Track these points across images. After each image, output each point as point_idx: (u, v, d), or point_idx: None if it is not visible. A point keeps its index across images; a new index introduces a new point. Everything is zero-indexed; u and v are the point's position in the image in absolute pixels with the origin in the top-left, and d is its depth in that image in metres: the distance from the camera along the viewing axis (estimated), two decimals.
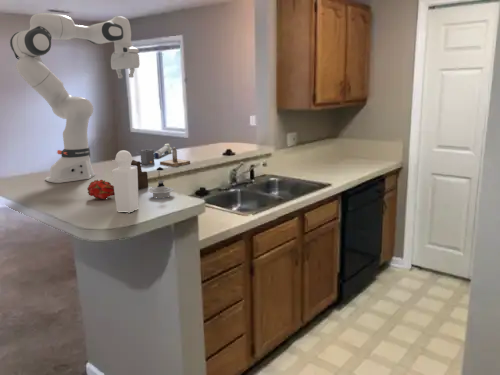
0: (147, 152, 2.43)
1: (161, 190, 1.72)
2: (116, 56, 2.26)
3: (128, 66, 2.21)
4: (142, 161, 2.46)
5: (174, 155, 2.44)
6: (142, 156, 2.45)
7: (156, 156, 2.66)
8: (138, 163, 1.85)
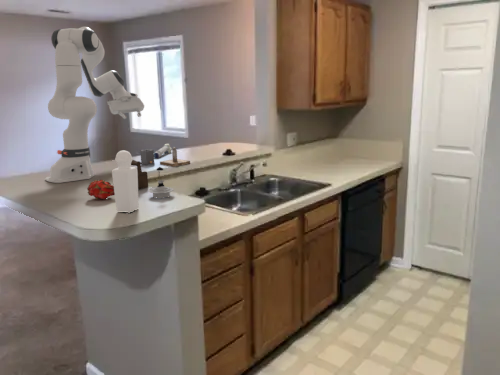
0: (147, 152, 2.43)
1: (161, 190, 1.72)
2: (118, 101, 2.48)
3: (137, 106, 2.52)
4: (142, 161, 2.46)
5: (174, 155, 2.44)
6: (142, 156, 2.45)
7: (156, 156, 2.66)
8: (138, 163, 1.85)
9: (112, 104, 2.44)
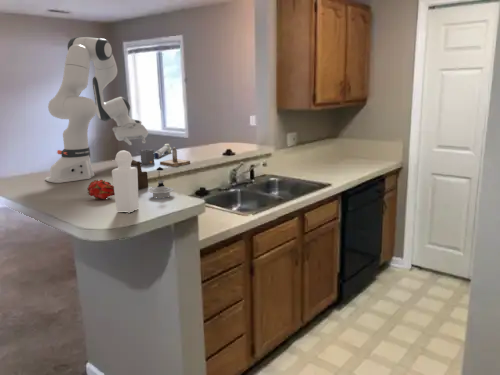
0: (147, 152, 2.43)
1: (161, 190, 1.72)
2: (123, 127, 2.49)
3: (142, 133, 2.54)
4: (142, 161, 2.46)
5: (174, 155, 2.44)
6: (142, 156, 2.45)
7: (156, 156, 2.66)
8: (138, 163, 1.85)
9: (118, 130, 2.45)
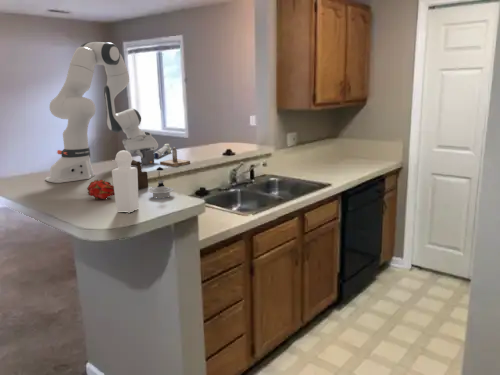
0: (147, 152, 2.43)
1: (161, 190, 1.72)
2: (133, 140, 2.45)
3: (152, 145, 2.50)
4: (142, 161, 2.46)
5: (174, 155, 2.44)
6: None
7: (156, 156, 2.66)
8: (138, 163, 1.85)
9: (128, 143, 2.41)
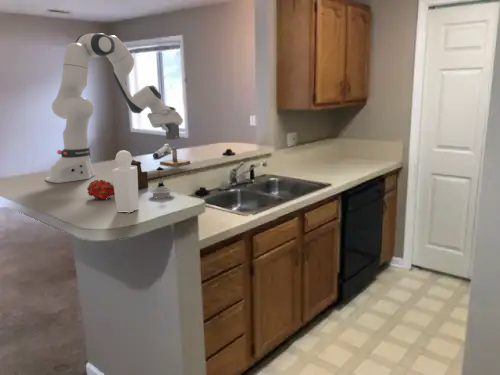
0: (172, 126, 2.39)
1: (161, 190, 1.72)
2: (159, 114, 2.41)
3: (177, 120, 2.47)
4: (167, 136, 2.42)
5: (174, 155, 2.44)
6: None
7: (156, 156, 2.65)
8: (138, 163, 1.85)
9: (153, 117, 2.37)
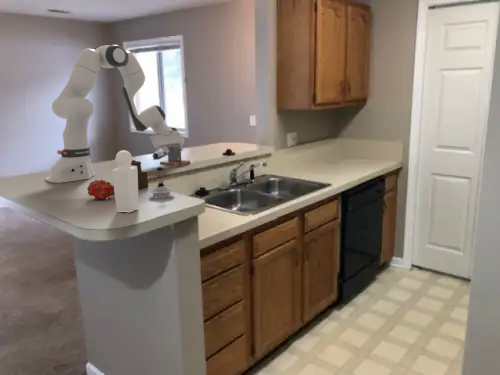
0: (175, 149, 2.42)
1: (161, 190, 1.72)
2: (161, 135, 2.44)
3: (179, 141, 2.49)
4: (169, 158, 2.45)
5: None
6: (169, 153, 2.44)
7: (155, 156, 2.65)
8: (138, 163, 1.85)
9: (156, 139, 2.40)
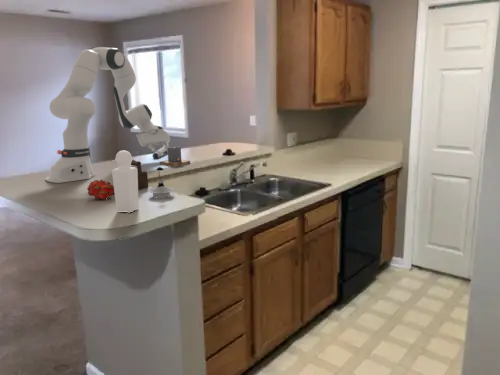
0: (175, 149, 2.42)
1: (161, 190, 1.72)
2: (147, 134, 2.52)
3: (164, 139, 2.57)
4: (169, 158, 2.45)
5: None
6: (169, 153, 2.44)
7: (155, 156, 2.65)
8: (138, 163, 1.85)
9: (141, 137, 2.48)
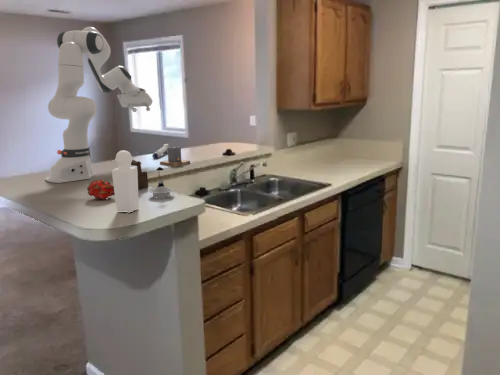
0: (175, 149, 2.42)
1: (161, 190, 1.72)
2: (128, 95, 2.50)
3: (146, 101, 2.56)
4: (169, 158, 2.45)
5: None
6: (169, 153, 2.44)
7: (155, 156, 2.64)
8: (138, 163, 1.85)
9: (122, 97, 2.46)
